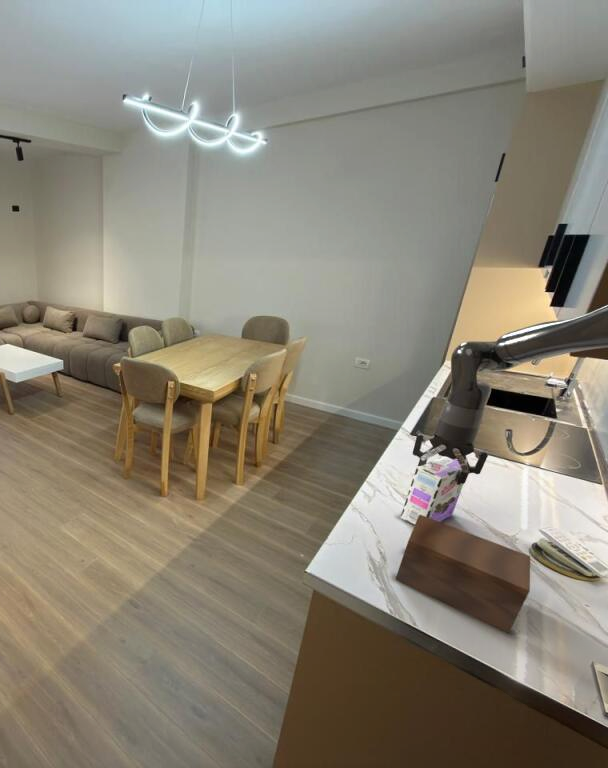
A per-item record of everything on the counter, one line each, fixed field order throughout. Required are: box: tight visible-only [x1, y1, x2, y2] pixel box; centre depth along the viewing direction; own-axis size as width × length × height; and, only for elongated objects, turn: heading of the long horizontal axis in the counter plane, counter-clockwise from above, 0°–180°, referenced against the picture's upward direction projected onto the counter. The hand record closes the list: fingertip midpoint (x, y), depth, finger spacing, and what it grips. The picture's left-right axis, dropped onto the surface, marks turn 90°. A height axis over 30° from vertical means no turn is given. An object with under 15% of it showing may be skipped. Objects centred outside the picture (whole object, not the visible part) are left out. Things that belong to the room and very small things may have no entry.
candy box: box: [400, 456, 464, 527], centre depth 104 cm, size 14×6×16 cm, turn 115°
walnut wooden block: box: [395, 514, 531, 635], centre depth 84 cm, size 18×12×11 cm, turn 44°
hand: (439, 477), depth 103 cm, fingers closed on candy box, 7 cm apart
